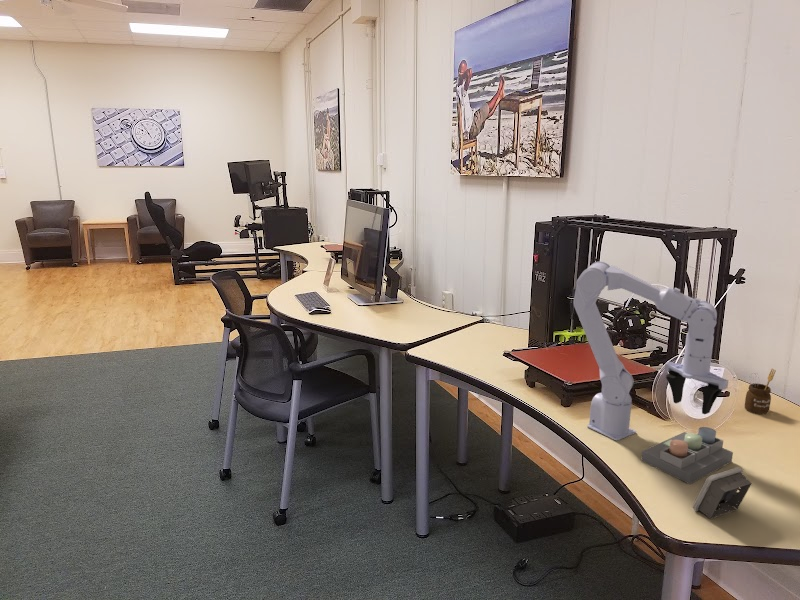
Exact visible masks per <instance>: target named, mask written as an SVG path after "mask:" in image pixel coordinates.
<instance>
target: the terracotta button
mask: <svg viewBox="0 0 800 600" xmlns="http://www.w3.org/2000/svg"><path fill="white" fill-rule="evenodd" d="M687 450H688V444H687V443H686V442H684V441H682V440H671V441H670V450H669V452H670V454H672V455H673V456H676V457H686V456H687Z"/></svg>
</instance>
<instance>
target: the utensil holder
mask: <svg viewBox="0 0 800 600" xmlns="http://www.w3.org/2000/svg"><path fill="white" fill-rule="evenodd" d="M775 373H776V369H773V368H771V369H770V371H769V373H768V376H767V380H768V381H767V383H766V384H763V383H762V384H761V382H760V375H759V374H758V373H757V372H752V373H751V374H750V375H749V383H750V384H749V385H748V390H747V391H746V394H745V399H744V409H745V410H746V411H748V412H749V413H752V414H757V415H766V414H768V413H769V412H770V409H771V403H772V402H771V401H772V395H771V392H772V389H771V387H770V386H769V384H770V382H771V381H773V379H774V376H775ZM752 375H754V376H752ZM752 377H753V378H752ZM754 378H755V381H752V380H754ZM757 379H758V381H756V380H757Z"/></svg>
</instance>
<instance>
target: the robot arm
mask: <svg viewBox="0 0 800 600" xmlns="http://www.w3.org/2000/svg"><path fill="white" fill-rule="evenodd" d="M575 285H576V287H575V292H574V297H573V307H574V309H575V312H576V314H577V316H578V319H579V321H580V324H581V326H582V329H583V332H584V334H585V336H586V339H587V341H588V344H589V347H590V348H591V351H592V353H593V356H594V358H595V361H596V363H597V365H598V368H599V370H598V371H599V380H600V382H601V392H598V393H596V394H595V395H594V396H593V397H592V400H591V403H590V407H589V424H587V425H586V427H587V428H588V429H591V430H593V431H595V432H597V433H599V434H602V435H604V436H606V437H608V438H610V439H611V440H613V441H618V442H619V441H620V440H623V439H624V438H627V437H629V436H632V435H634V434H637V430H635V429H633V428H631V427H630V422H631V412H632V402H633V401H632V400H633V399H632V396H631V395H630V392H631V389H632V388H633V386H634V383H635V382H634V381H635V380H634V378H633V375H632V374H631V373H630V372H629V371H628V370H627V369H626V367H625V366H624V364H623V362H622V361H621V360H620V359H619V357H618V355H617V353H616V350H615V348H614V345H613V343H612V340H611V338H610V337H611V336H610V335H609V333H608V330H607V328H606V325H605V323H604V320H603V318H602V315H601V313H600V311H599V307H598V306H597V300H598V299H599V297H600V294H601V293H602V291H603V290H604V289H605V287H607V291H614V290H620V289H623V290H625V291H627V292H629V293H632V294H635V295H637V296H639V297H641V298H644V299H646V300H649V301H650V302H651V301H652V302H654V305H655V308H656V309H657V310H659V311H661V312H662V313H664V314H667V315H669V316H671V317H673V318H675V319H678V320H679V321H681V322H685V323H687V324H688V332H687V333H686V336H685V337H686V338H685V345H684V353H683V354H684V355H683V361H682V362H683V363H682V364H681V363H675V362H671V361H669V362H665V364H664V372H667V373H668V374H666V375H665V376H666V377H665V379H666V380H667V382H668V384H669V386H670V387H669V388H670V390H671V393H672V400H673V403H674V404H679V403H681V402H682V400H683V393H684V386H685V383H686V379H689V380H691V379H692V380H695V381H698V382H702V383H704V384H707V385H704V386H702V387H701V391H702V406H701V407H702V408H701V414H703V415H707V414H709V413H710V412H711V410H712V407H713V405H714V403H715V402H716V401H717V398H718V396H719V395H720V394H721V393H722V392H723V390H727V389H728V385H729V380H728V379H726V378H722V377H721V376H719V375H717V374H715V373H713V372H711V371H710V370H711V363H712V355H713V347H714V346H713V345H714V341H715V340H714V339H715V336H714V334H715V327H716V325H717V323H718V322H717V319H718V318H717V316H718V312H717V309H716V308H715V306H714V305H713V304H712V303H710V302H709V301H707V300H701V299H700V298H698V297H696V298H693V297H692V296H689V295H687V294H684V293H683V292H681V289H680V288H679V287H678V288H677V287H674V289H673V288H671V287H667V288H662V289H660V288H658V287H657V286H655V285H652V284H651V283H649V282H647V281H645V280H643V279H641V278H639V277H637V276H636V275H633V274H631V273H630V272H628V271H625V270H623V269H622V268H620V267H618V266H615V265H610V264H609V263H607V262H605V261H595V262H593V263H592V264H591V265H589V266H588V268H586V269H584V270H583V271H582V273H581V274H580V275H579V277H578V278H577V280H576V282H575Z"/></svg>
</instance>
